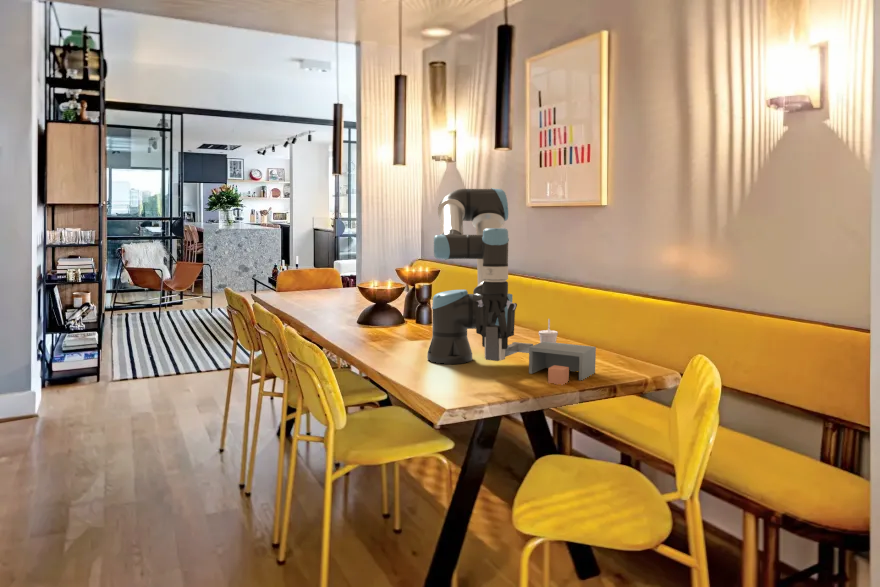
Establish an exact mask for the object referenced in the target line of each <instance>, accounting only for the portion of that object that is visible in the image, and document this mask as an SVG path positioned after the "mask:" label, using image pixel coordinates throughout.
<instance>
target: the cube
mask: <svg viewBox="0 0 880 587" xmlns="http://www.w3.org/2000/svg"><path fill="white" fill-rule="evenodd" d="M547 369H548V371H547V373H548V374H547V383H548V384H550V383H554V384H553V385H558V384H561V385H560V386H564V385H566V384H568V383H569V382H568V381H570V378H569V377H570V371H569V367H565V366H557V365H554V366H552V367H550V368H547ZM567 382H568V383H567ZM565 383H566V384H565ZM563 384H564V385H563Z"/></svg>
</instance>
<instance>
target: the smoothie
mask: <svg viewBox="0 0 880 587" xmlns="http://www.w3.org/2000/svg"><path fill="white" fill-rule="evenodd" d="M547 319H548V320H547V324H548V325H547V329H546V330H545V329H544V330H543V329H542V330H539V331H538V335H539V343H541V342H554V343H557V336H559V334H558V333H559V332H558V331H556V330H551V328H550V327H551V319H550V318H547Z"/></svg>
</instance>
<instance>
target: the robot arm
mask: <svg viewBox="0 0 880 587" xmlns="http://www.w3.org/2000/svg"><path fill="white" fill-rule="evenodd" d="M508 205H509V203H508V198H507V193H506V192H505V190H503V189H502V188H494V187H490V188H459V189H455V190H453V191H451V192H449V193H448V194H446V196H444V197H443V198H442V199H441V201H440V202H439V204H438V206H437V207H438V208H437V216H438V218H439V220H440V228H439V229H440V230H439V231H440V234H436V235H434V237H433V257H434V259H438V260H476V263H477V264H476V266H477V269H476V271H477V286H476V287H474V289H473V293H468V290H467V289H451V290H444V291H441V292H437V293H436V294H434V295H433V297H432V306H431V309H432V337H431V338H432V339H431V341H430V344H429V347H428V350H427V359H428V360H430V361H432V362H431V363H433V362H436V363H435V364H440V363H444V364H443V365H457V364H458V365H459V364H466V362H467V363H469V362H472V361H473V351H472V348H471V345H470V341H469V339H468V330H476V331H475V332H476V334H477V335H480V336H481V337H482V338H481V339H482V342H481V344H482V348H484V360H486V326H490V325H499V327H500V333H501V337H500V338H499V360H500V361H503V360H505V359H506V357H505V349H507V347H508V345H509V344H508V343H509V340H508V339H509V337H513V336H514V335H515V322H516V321H515V320H516V319H515V318H516V309H517V307H518V304H517V302H513V297H514V296H513V294H511V293H509V282H508V281H507V280H509V242H510V241H509V240H510V238H509V230H508V229H507V228H506V227H505V228H502V227H503V226H504V225H505V222H506V221H508V220H509V206H508ZM464 222H471V225H472V226H473V228H474V229H476V230H475V231H476V234H464ZM428 360H427V361H428ZM430 361H429V362H430Z"/></svg>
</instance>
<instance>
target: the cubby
mask: <svg viewBox="0 0 880 587" xmlns="http://www.w3.org/2000/svg"><path fill="white" fill-rule="evenodd" d="M596 353H597V347H596V346H591V345H581V344H580V345H579V344H572V343H571V344H570V343H561V342H556V343H554V342H541V343H540V342H539V343H536V344H533V346H531V347H529V353H528V374H529V375H530V374H531V375H532V374H534V373H537V372H539V371H541V370H543V369H548V368H550V367H552V366H554V365H557V366H565V367H569V370H570V371H569V372H575V371H579V372H578V381H581V380H582V381H584V380H586V379H588V378H589V376H590V375H591V376H593V375H595V374H596V362H597V361H596V358H597V357H596V356H597V354H596ZM594 373H595V374H594ZM592 374H593V375H592ZM591 376H590V377H591ZM587 377H588V378H587ZM585 378H586V379H585ZM583 379H584V380H583Z"/></svg>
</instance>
